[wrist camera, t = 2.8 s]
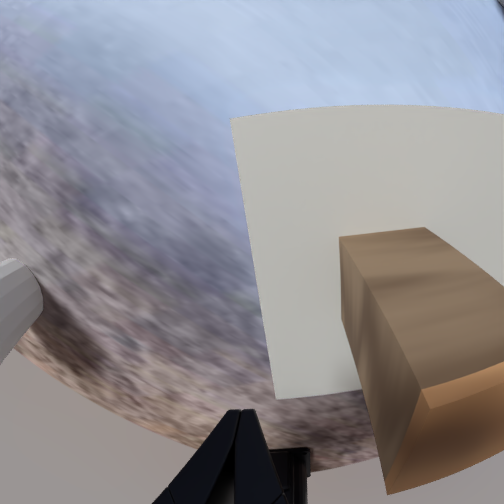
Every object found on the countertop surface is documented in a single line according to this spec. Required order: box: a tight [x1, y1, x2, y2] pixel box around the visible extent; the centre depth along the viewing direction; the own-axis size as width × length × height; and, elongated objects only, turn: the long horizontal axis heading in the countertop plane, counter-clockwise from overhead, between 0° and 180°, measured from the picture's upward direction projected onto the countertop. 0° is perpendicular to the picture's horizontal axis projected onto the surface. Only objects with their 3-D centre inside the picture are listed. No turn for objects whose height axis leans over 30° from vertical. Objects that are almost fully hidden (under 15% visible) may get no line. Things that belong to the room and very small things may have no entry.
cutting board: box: [230, 105, 504, 399], centre depth 15 cm, size 18×24×1 cm
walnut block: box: [339, 227, 504, 495], centre depth 10 cm, size 5×5×11 cm
